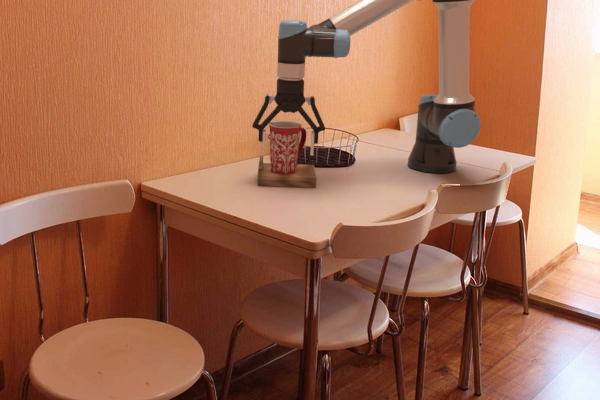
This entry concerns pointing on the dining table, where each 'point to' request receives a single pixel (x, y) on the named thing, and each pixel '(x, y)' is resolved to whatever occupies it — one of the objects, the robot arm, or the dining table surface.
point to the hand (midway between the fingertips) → (287, 153)
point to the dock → (286, 176)
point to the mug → (285, 145)
